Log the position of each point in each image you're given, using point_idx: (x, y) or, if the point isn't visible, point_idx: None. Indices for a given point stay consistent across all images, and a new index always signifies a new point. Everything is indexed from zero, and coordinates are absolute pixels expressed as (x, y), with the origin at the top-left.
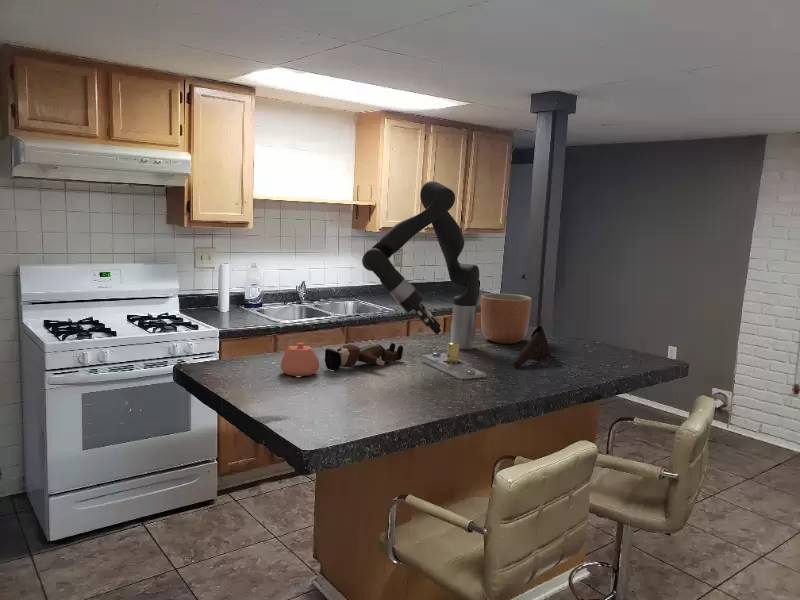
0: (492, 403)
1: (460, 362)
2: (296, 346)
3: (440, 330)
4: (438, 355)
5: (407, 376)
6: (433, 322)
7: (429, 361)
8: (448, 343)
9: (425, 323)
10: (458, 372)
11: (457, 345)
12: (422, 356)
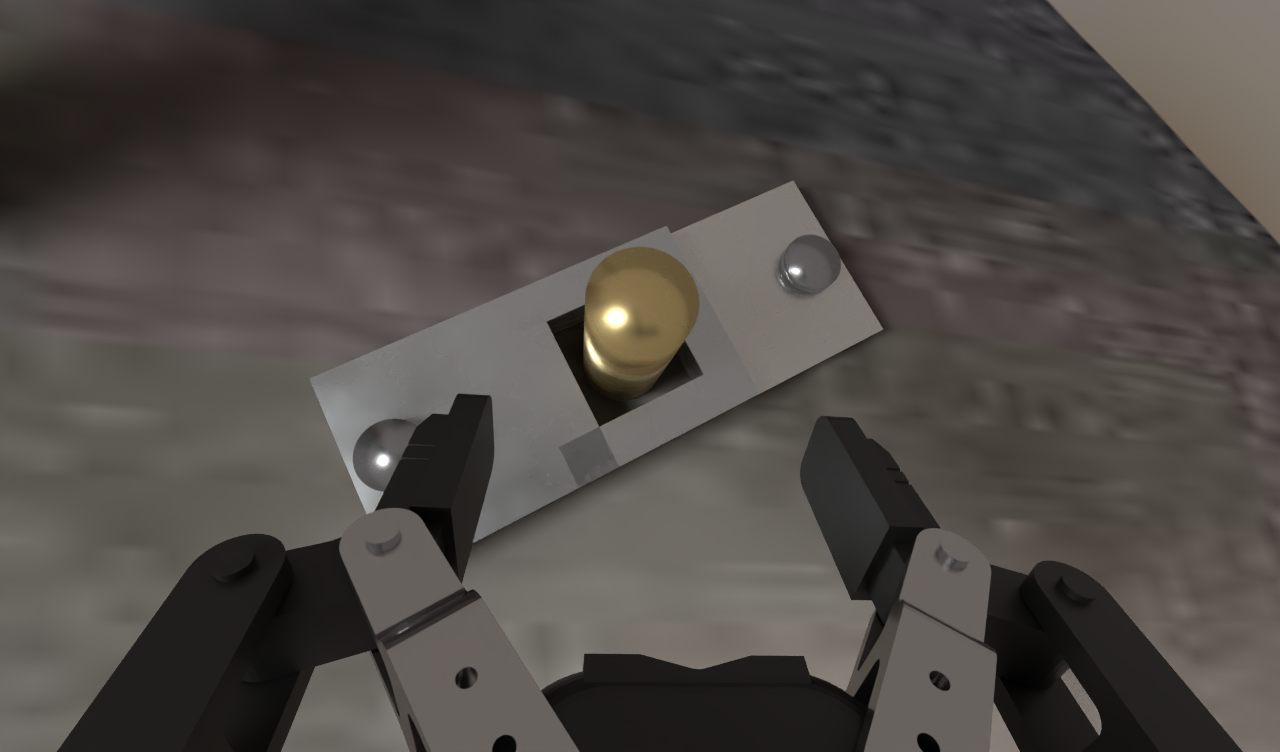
0: (1228, 249)
1: None
2: None
3: (847, 424)
4: None
5: None
6: (953, 541)
7: (522, 517)
8: (656, 348)
9: (1064, 699)
10: (801, 337)
11: (684, 272)
12: None
